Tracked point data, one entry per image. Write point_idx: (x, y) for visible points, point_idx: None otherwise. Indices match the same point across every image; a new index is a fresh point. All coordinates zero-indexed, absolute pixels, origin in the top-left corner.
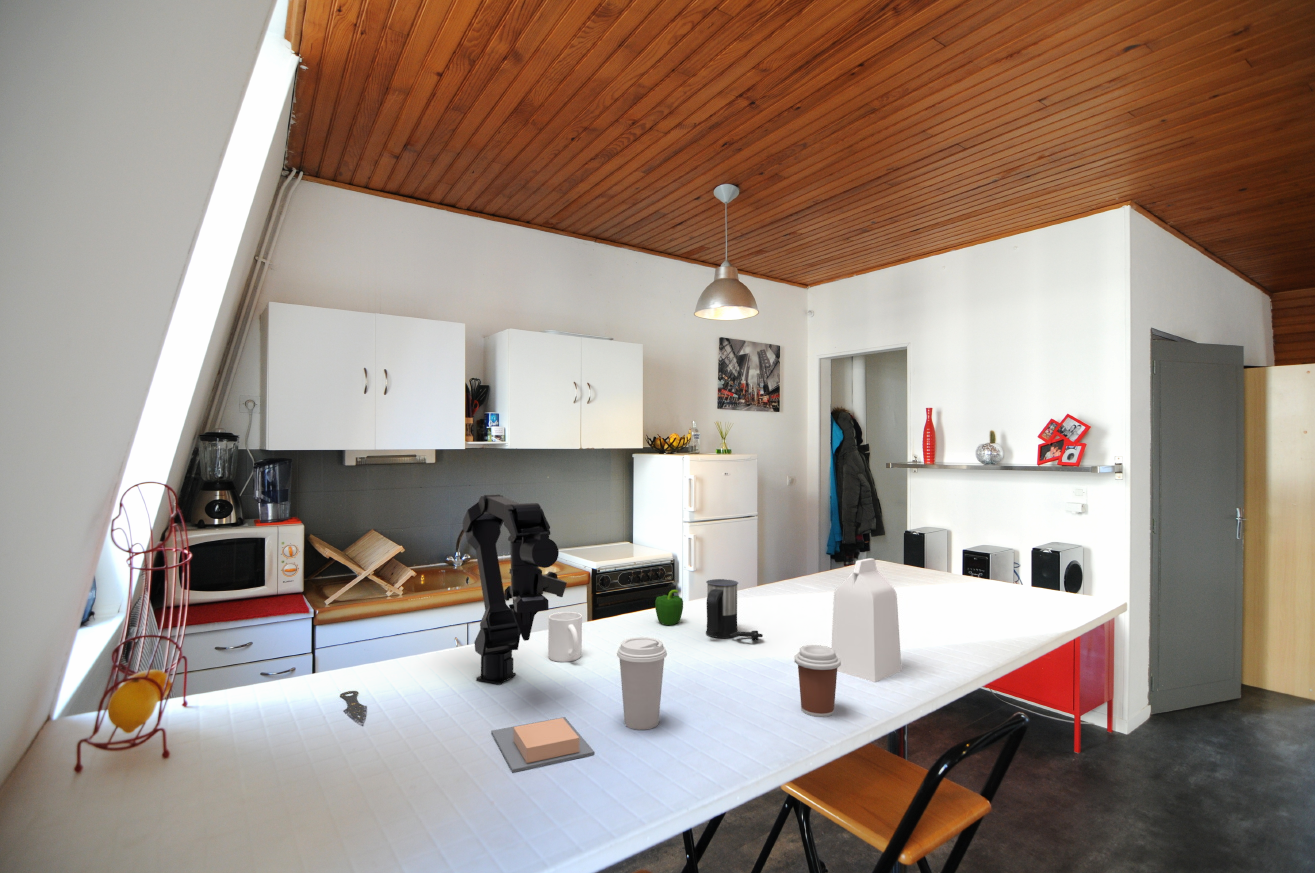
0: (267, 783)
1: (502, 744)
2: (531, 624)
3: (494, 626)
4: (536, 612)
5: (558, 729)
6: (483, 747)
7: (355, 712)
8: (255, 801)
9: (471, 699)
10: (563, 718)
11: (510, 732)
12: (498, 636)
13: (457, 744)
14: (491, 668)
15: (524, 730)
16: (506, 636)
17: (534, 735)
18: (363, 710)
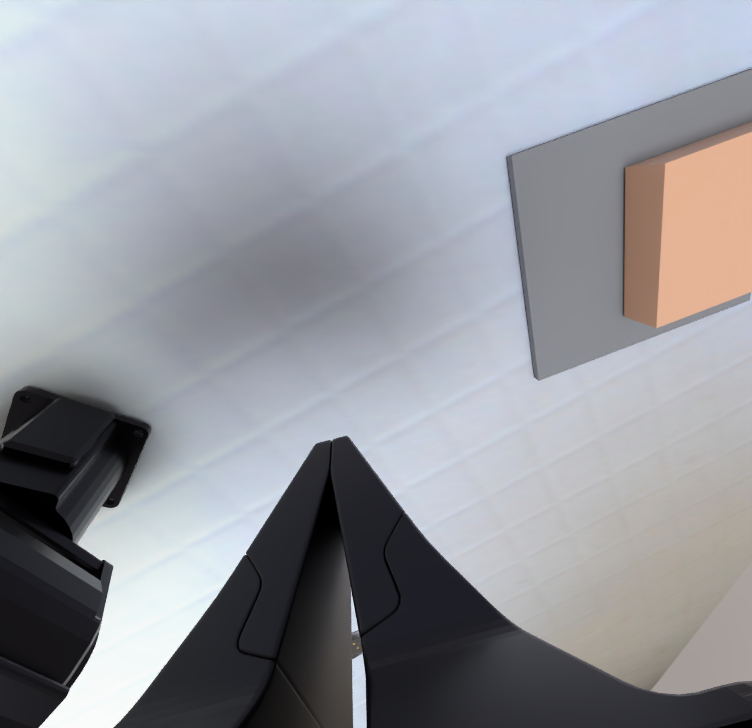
0: (589, 621)
1: (624, 340)
2: (408, 521)
3: (16, 709)
4: (566, 658)
5: (740, 181)
6: (601, 379)
7: (359, 645)
8: (630, 609)
9: (293, 472)
10: (523, 162)
11: (566, 330)
12: (53, 610)
13: (565, 434)
14: (106, 490)
15: (690, 293)
16: (8, 573)
17: (736, 260)
18: (353, 639)
